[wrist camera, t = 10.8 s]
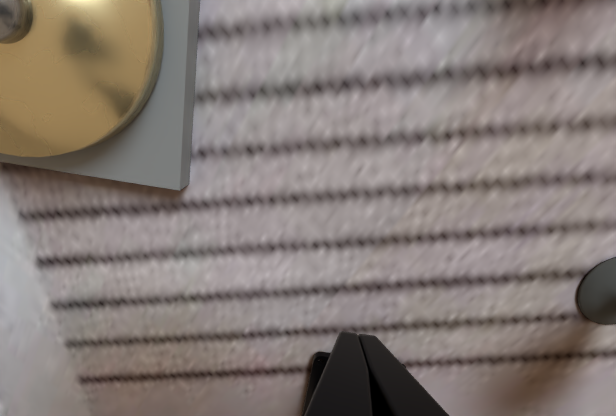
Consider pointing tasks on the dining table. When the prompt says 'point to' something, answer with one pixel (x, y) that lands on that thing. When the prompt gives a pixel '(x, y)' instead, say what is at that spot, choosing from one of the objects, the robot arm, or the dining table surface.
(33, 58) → the handwheel
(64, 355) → the dining table surface
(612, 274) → the sundae
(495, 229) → the dining table surface
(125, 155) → the base plate
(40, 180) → the dining table surface
